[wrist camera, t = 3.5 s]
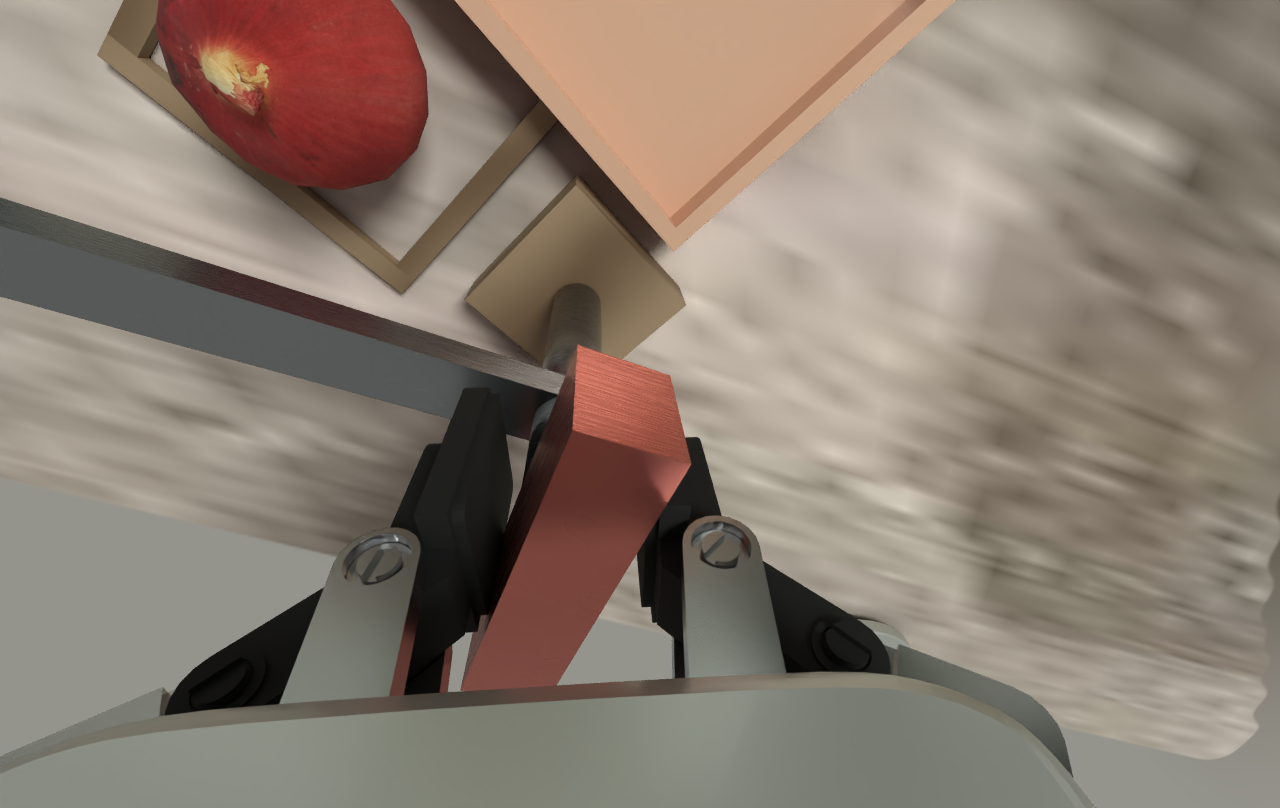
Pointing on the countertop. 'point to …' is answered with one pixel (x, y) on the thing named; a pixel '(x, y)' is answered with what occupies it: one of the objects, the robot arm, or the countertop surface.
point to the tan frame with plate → (524, 272)
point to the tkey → (422, 380)
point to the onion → (301, 83)
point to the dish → (694, 83)
